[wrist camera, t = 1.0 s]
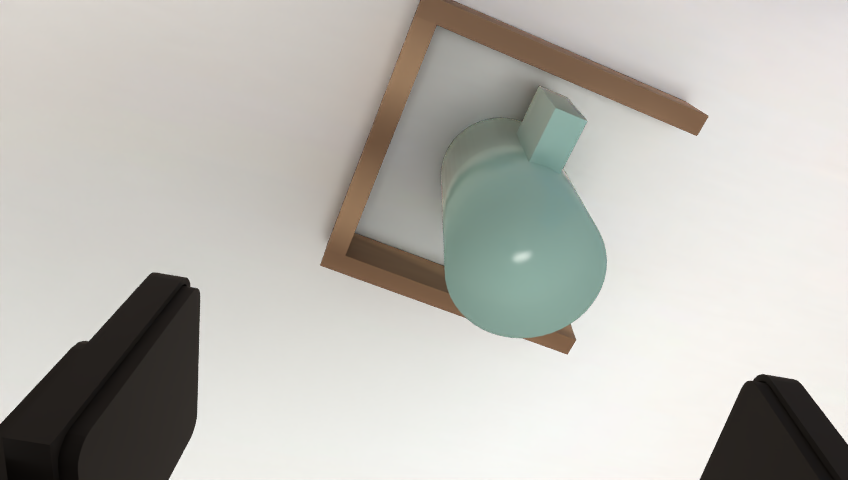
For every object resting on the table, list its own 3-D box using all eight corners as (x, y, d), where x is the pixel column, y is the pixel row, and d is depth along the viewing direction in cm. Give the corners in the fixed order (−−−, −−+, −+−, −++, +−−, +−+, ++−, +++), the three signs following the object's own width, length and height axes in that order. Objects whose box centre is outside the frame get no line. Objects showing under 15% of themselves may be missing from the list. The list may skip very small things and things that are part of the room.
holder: (557, 325, 38) (567, 354, 36) (328, 241, 36) (320, 265, 34) (685, 101, 33) (708, 116, 30) (424, -12, 31) (424, -7, 28)
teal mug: (525, 242, 36) (560, 358, 26) (423, 203, 35) (420, 307, 25) (597, 102, 33) (669, 172, 23) (488, 56, 32) (513, 108, 22)
